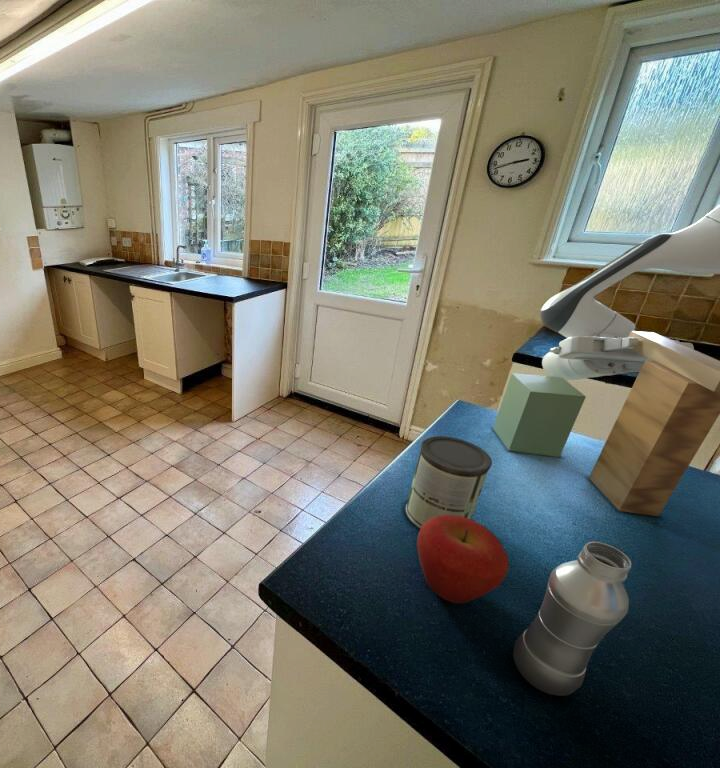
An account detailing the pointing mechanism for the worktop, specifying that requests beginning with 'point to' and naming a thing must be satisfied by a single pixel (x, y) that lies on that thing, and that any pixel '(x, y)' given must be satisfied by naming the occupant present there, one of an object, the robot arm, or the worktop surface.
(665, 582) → the worktop surface
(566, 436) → the low box
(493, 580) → the apple
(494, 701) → the worktop surface
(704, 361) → the slim box
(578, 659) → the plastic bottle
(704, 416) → the tall stand
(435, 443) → the coffee can
